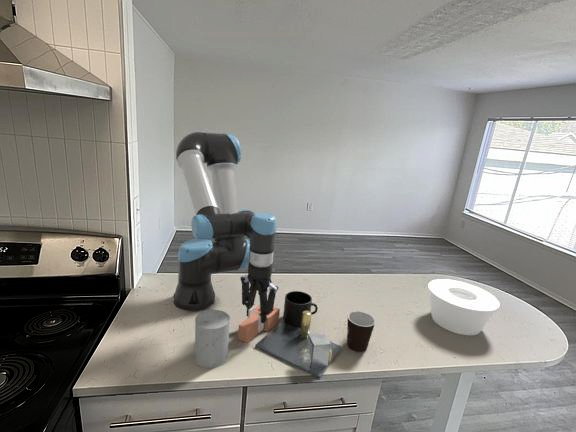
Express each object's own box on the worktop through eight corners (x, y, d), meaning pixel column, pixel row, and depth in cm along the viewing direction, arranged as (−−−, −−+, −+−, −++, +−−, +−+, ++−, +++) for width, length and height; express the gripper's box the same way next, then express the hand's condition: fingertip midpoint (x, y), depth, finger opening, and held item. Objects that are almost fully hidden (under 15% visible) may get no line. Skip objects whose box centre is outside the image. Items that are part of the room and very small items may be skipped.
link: (251, 345, 101) (252, 331, 100) (233, 336, 104) (234, 322, 103) (278, 321, 115) (279, 309, 113) (262, 314, 118) (263, 302, 117)
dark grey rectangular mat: (255, 347, 100) (255, 344, 100) (282, 323, 114) (282, 321, 114) (319, 378, 90) (320, 376, 90) (341, 348, 103) (341, 346, 103)
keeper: (305, 354, 98) (308, 333, 96) (325, 352, 99) (328, 331, 98) (311, 367, 93) (314, 345, 91) (332, 365, 94) (335, 343, 92)
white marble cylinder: (197, 345, 99) (198, 309, 96) (229, 345, 100) (231, 310, 97) (191, 367, 90) (191, 328, 87) (226, 368, 91) (228, 329, 88)
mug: (318, 328, 113) (321, 305, 111) (284, 327, 111) (286, 304, 109) (313, 313, 122) (316, 291, 120) (281, 312, 121) (284, 290, 118)
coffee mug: (365, 358, 100) (370, 330, 97) (339, 347, 104) (343, 319, 101) (376, 340, 109) (381, 313, 107) (352, 330, 114) (356, 304, 111)
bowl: (487, 316, 131) (494, 289, 128) (495, 350, 110) (505, 318, 107) (423, 299, 141) (429, 274, 138) (420, 327, 119) (427, 297, 116)
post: (298, 336, 106) (301, 313, 104) (302, 332, 109) (305, 309, 107) (306, 339, 105) (309, 316, 103) (310, 335, 107) (312, 312, 105)
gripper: (232, 259, 103) (229, 323, 109) (276, 274, 95) (269, 343, 102) (247, 252, 109) (243, 314, 115) (289, 266, 102) (282, 331, 108)
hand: (255, 327), depth 109 cm, fingers closed on link, 3 cm apart
